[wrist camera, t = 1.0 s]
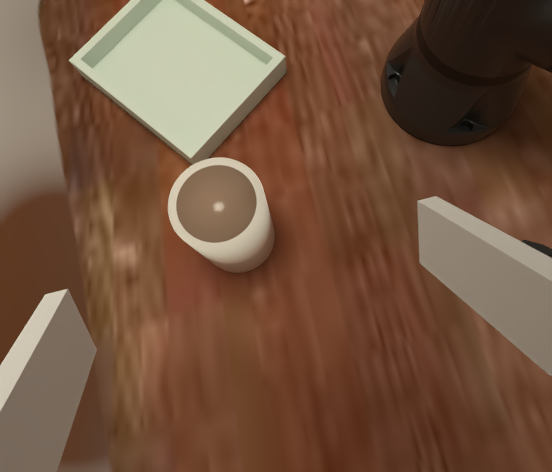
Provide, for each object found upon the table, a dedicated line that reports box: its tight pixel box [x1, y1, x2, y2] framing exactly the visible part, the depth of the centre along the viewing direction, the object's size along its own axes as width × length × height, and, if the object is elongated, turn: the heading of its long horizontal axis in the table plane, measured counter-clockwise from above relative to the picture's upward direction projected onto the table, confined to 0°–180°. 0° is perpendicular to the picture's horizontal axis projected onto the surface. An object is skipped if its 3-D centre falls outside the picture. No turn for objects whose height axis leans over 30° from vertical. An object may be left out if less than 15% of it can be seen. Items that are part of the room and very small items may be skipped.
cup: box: [168, 158, 275, 273], centre depth 38 cm, size 8×8×12 cm
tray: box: [69, 0, 286, 165], centre depth 48 cm, size 16×20×3 cm
